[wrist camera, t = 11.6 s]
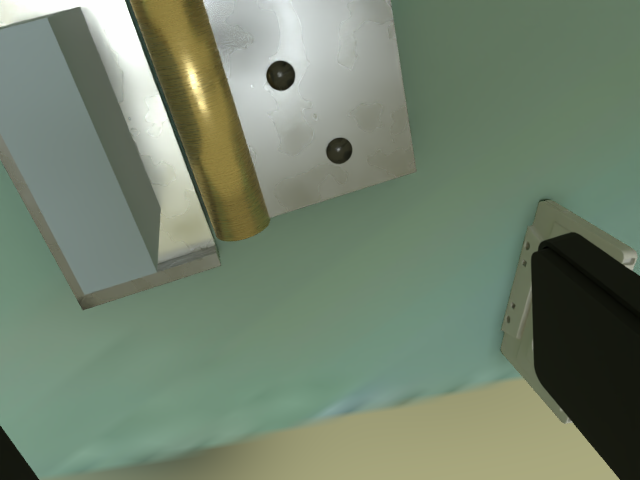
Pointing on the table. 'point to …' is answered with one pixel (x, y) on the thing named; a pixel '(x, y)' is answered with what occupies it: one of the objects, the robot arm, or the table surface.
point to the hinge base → (241, 113)
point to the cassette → (519, 309)
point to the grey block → (77, 150)
